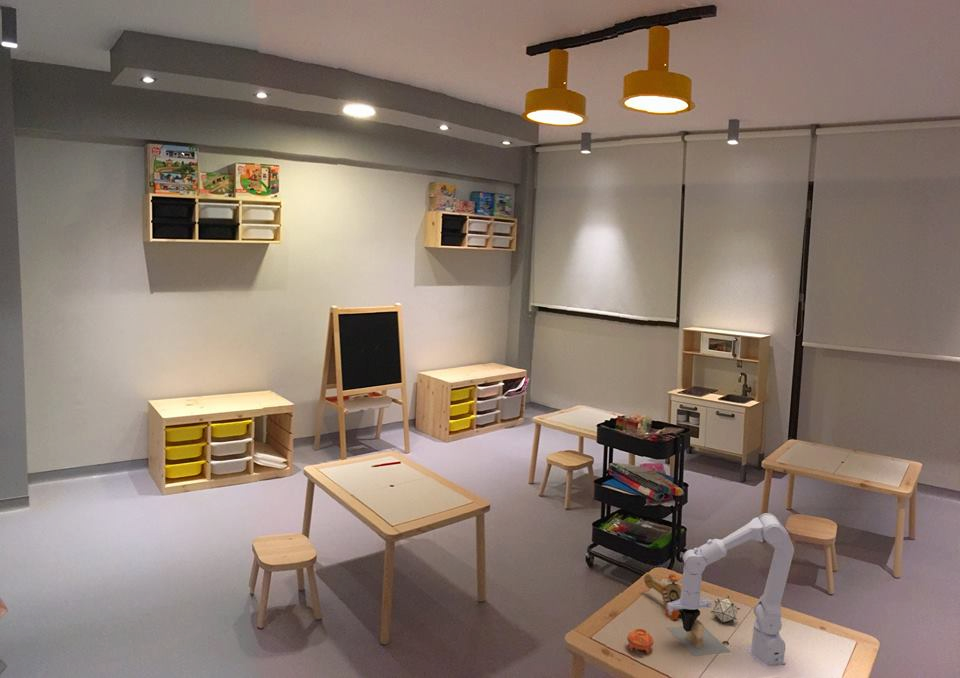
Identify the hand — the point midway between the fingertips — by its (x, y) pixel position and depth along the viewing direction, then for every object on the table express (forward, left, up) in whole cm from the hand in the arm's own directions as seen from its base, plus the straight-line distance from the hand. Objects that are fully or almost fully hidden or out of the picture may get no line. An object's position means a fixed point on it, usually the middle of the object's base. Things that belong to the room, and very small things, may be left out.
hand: (686, 629), depth 218 cm
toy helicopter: (+21, -6, -5) cm, 23 cm away
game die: (+10, -21, -5) cm, 24 cm away
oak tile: (0, -3, -4) cm, 5 cm away
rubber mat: (+1, -5, -5) cm, 7 cm away
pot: (0, +16, -5) cm, 17 cm away
